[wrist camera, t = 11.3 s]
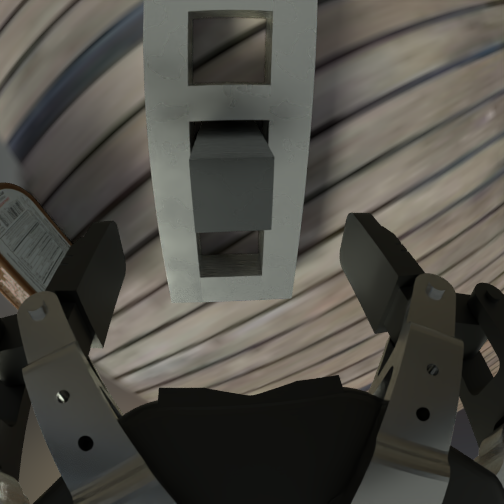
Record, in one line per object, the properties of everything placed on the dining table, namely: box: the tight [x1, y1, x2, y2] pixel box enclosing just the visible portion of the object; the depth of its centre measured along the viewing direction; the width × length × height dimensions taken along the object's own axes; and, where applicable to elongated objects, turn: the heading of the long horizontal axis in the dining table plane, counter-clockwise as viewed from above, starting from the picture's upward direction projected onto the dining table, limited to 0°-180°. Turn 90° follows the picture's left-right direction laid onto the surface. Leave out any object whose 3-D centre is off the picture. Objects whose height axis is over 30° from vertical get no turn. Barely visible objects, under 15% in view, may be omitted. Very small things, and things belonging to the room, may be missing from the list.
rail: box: [143, 0, 318, 303], centre depth 20 cm, size 10×24×3 cm, turn 178°
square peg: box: [189, 120, 275, 233], centre depth 17 cm, size 4×4×9 cm
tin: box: [0, 183, 72, 309], centre depth 20 cm, size 15×3×8 cm, turn 29°
